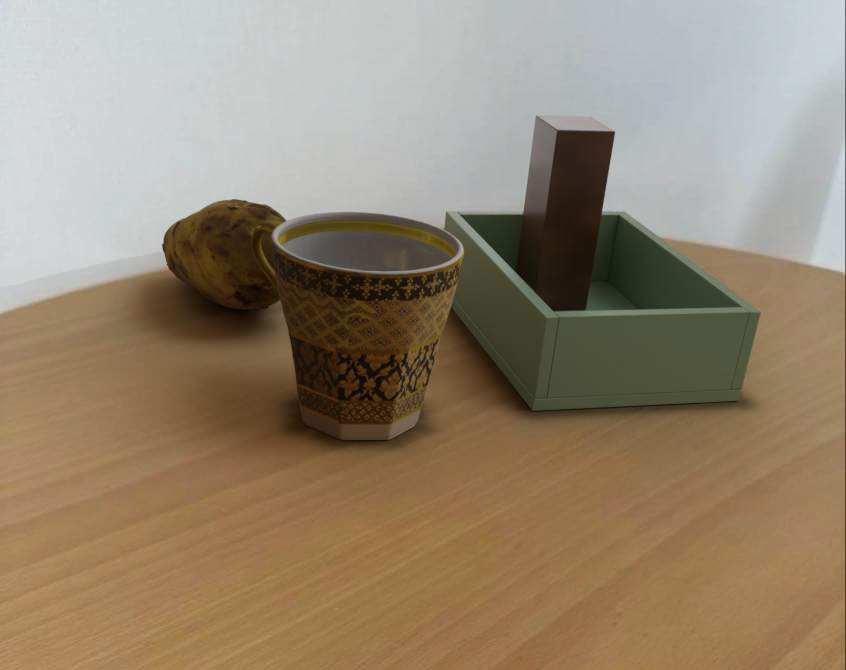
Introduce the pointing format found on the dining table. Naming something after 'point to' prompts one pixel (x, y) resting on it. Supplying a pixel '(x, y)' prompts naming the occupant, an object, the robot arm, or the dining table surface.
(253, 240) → the ceramic cup
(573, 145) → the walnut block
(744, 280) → the dining table surface
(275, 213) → the potato
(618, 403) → the bin
